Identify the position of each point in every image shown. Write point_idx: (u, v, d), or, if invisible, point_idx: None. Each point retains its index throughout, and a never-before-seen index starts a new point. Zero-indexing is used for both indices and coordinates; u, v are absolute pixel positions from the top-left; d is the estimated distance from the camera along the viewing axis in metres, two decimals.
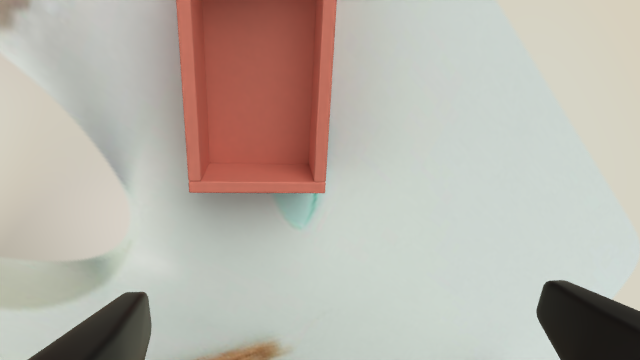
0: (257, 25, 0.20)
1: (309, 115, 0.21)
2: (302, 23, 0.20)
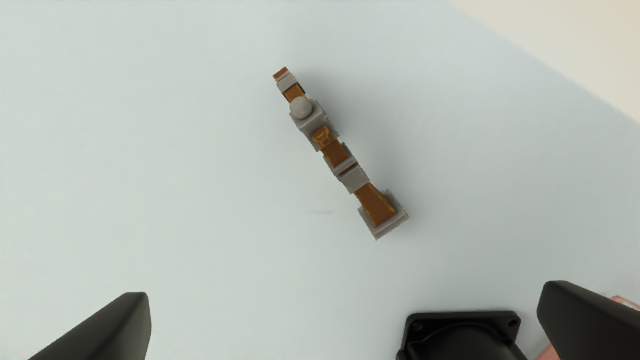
0: None
1: None
2: None
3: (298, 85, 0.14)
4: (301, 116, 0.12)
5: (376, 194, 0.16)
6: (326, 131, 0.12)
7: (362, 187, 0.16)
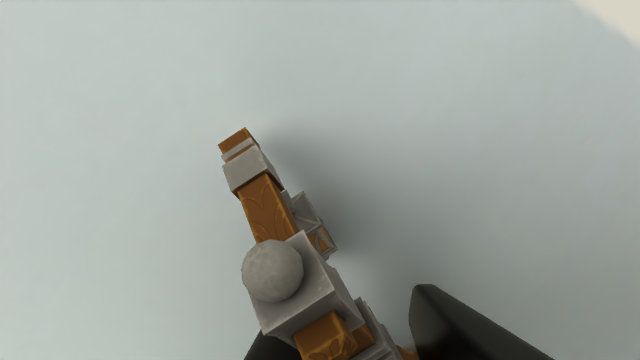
0: None
1: None
2: None
3: (270, 176, 0.07)
4: (272, 299, 0.04)
5: None
6: (339, 337, 0.05)
7: None
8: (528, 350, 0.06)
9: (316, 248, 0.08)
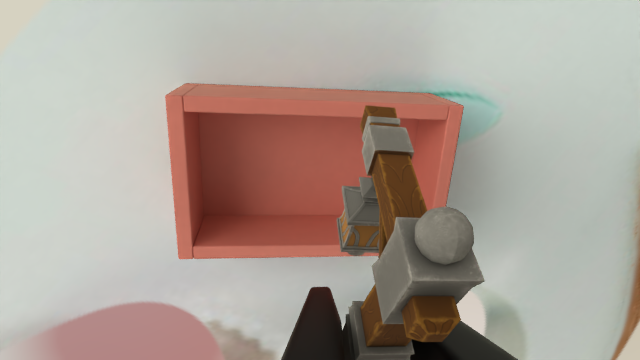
0: (262, 163, 0.18)
1: None
2: (257, 115, 0.17)
3: (409, 160, 0.07)
4: (437, 257, 0.05)
5: None
6: (454, 320, 0.05)
7: None
8: (495, 352, 0.06)
9: (368, 240, 0.09)
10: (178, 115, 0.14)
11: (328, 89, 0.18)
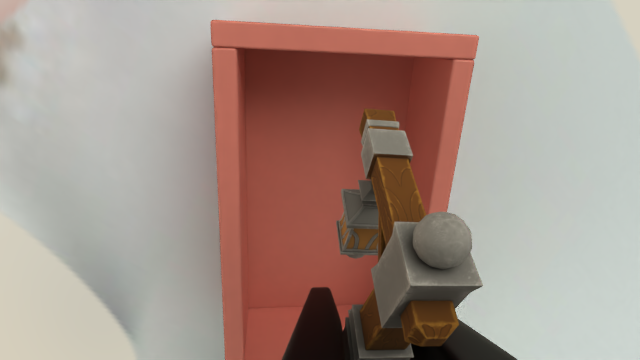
0: (323, 132, 0.13)
1: None
2: None
3: None
4: (435, 262, 0.05)
5: None
6: (452, 324, 0.05)
7: None
8: (495, 352, 0.06)
9: (367, 243, 0.09)
10: (450, 51, 0.10)
11: None
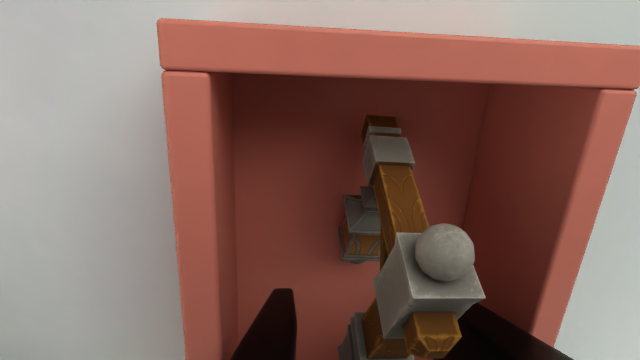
0: (351, 188, 0.09)
1: None
2: (446, 180, 0.09)
3: (410, 170, 0.07)
4: (438, 274, 0.05)
5: None
6: (455, 337, 0.05)
7: None
8: (545, 349, 0.06)
9: (369, 249, 0.09)
10: (599, 75, 0.06)
11: None
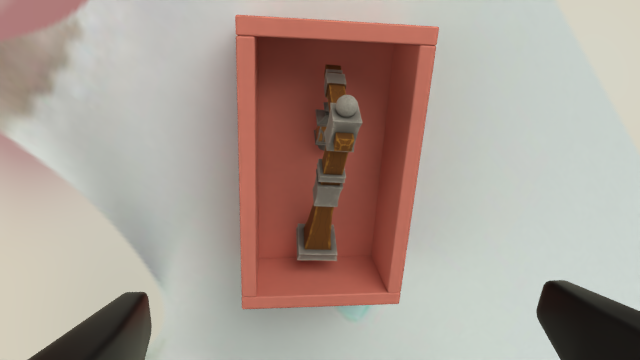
0: (320, 108, 0.17)
1: (374, 204, 0.18)
2: (373, 104, 0.17)
3: (344, 88, 0.14)
4: (343, 112, 0.12)
5: (330, 222, 0.16)
6: (351, 140, 0.12)
7: (326, 207, 0.16)
8: None
9: None
10: (417, 38, 0.13)
11: None
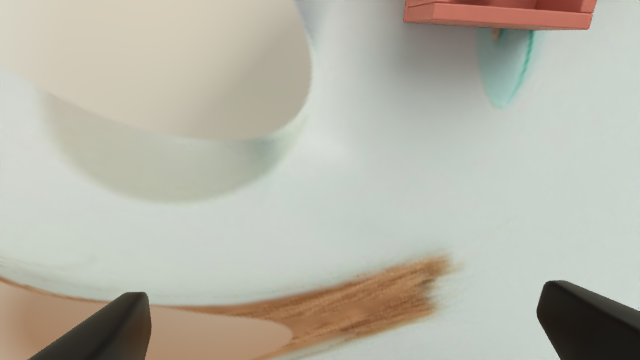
0: None
1: None
2: None
3: None
4: None
5: None
6: None
7: None
8: None
9: None
10: None
11: None
